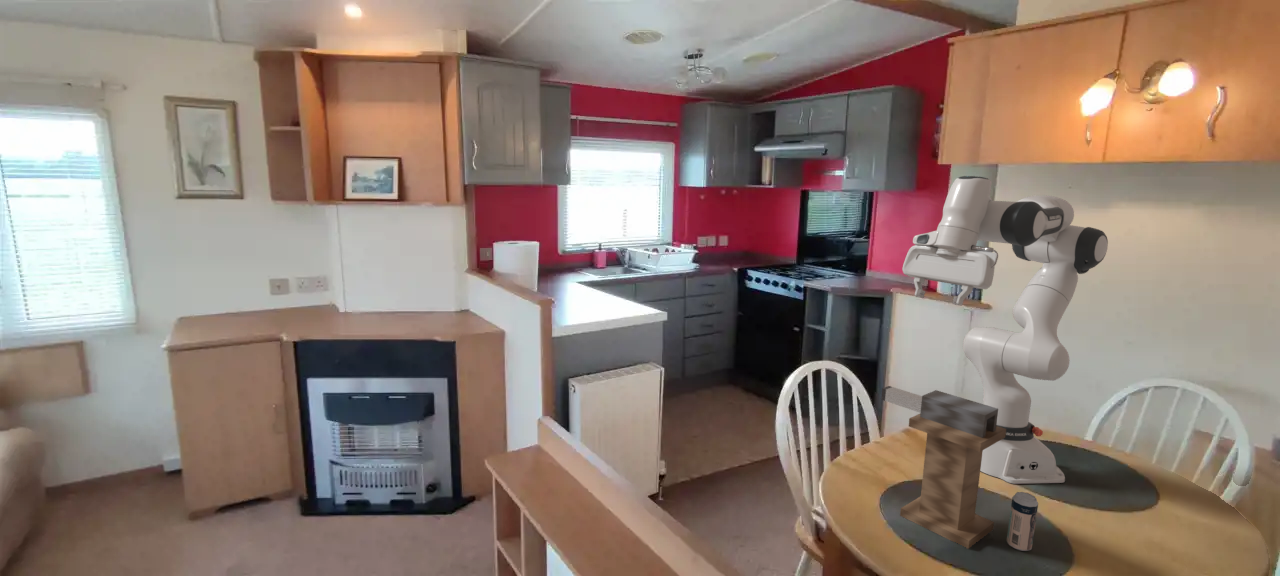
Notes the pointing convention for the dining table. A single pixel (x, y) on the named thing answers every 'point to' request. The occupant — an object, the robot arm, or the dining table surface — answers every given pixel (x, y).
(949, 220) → the robot arm
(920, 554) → the dining table surface
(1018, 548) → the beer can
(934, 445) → the stand
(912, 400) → the spindle bar
